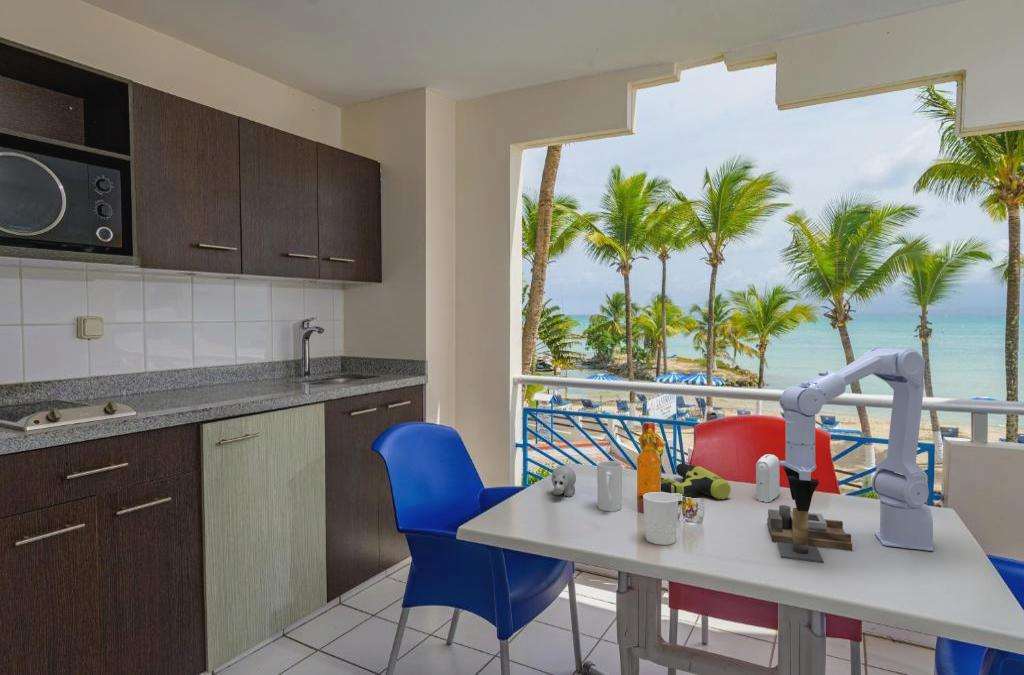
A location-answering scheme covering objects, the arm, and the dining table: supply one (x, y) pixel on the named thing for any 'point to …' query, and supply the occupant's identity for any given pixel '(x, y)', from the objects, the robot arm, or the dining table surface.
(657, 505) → the white cup
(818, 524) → the grey square frame
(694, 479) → the cordless drill
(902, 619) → the dining table surface
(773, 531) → the chuck base
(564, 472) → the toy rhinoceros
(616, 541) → the dining table surface
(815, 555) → the pad
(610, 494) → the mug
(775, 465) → the photo printer
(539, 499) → the dining table surface
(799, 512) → the wooden square peg
